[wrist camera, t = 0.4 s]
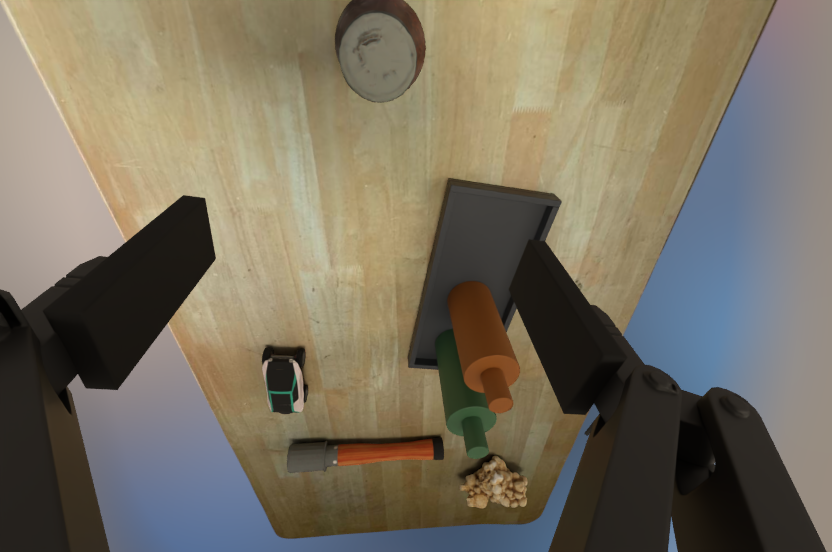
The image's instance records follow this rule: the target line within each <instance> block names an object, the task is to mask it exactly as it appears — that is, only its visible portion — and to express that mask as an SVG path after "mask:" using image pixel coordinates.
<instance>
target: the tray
mask: <svg viewBox="0 0 832 552" xmlns="http://www.w3.org/2000/svg"><path fill="white" fill-rule="evenodd" d="M561 202H562V201H561V200H560V199H559V198H558V197H557V196H556V195H555V194H549V193H542V192H536V191H529V190H522V189H516V188H509V187H503V186H496V185H489V184H483V183H476V182H470V181H463V180H457V179H450V178H449V179H448V183H447V188H446V192H445V197H444V201H443V205H442V210H441V214H440V218H439V223H438V227H437V232H436V236H435V240H434V245H433V249H432V254H431V258H430V262H429V267H428V271H427V276H426V280H425V284H424V289H423V293H422V298H421V302H420V306H419V311H418V315H417V320H416V324H415V328H414V333H413V337H412V341H411V346H410V350H409V355H408V367H409V368H422V369H436V370H438V363H437V356H436V349H435V341H436V339H437V337H438V336H439V335H440V334H441V333H443V332H444V331H446V330H449V329H453V326H452V322H451V317H450V312H449V308H448V302H447V299H448V295H449V293H450V292H451V290H452V289H453V288H454V287H455V286H457V285H459V284H461V283H463V282H467V281H477V282H480V283H483V284H484V285H486V286H487V287H488V288H489V290H490V292H491V295H492V297H493V300H494V302H495V305H496V308H497V310H498V313H499V315H500V318H501V320H502V323H503V326H504V328H505V331H506V332H507V330H508V327H509V325H510V322H511V320H512V318H513V315H514V313H515V311H516V308H517V307H516V305H515V303H514V300H513V298H512V296H511V294H510V291H509V287H510V285H511V282H512V280H513V277H514V275H515V272H516V270H517V267H518V265H519V262H520V260H521V257H522V255H523V252H524V250H525V247H526V245H527V242H528V240H529V239H531V240H539V241H545V240H546V237H547V235H548V233H549V230H550V228H551V226H552V223H553V221H554V219H555V216H556V214H557V211H558V209H559V207H560V205H561Z"/></svg>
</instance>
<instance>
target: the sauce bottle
mask: <svg viewBox="0 0 832 552" xmlns="http://www.w3.org/2000/svg"><path fill="white" fill-rule="evenodd" d="M335 49H336V54H337V58H338V61H339V64H340V66H341V71H342V73H343V76H344V78H345V80H346V82H347V84H348V85H349V86H350V87H351V88H352V90H353V91H355V92H356V93H357V94H358V95H359V96H361V97H362V98H364V99H367V100H369V101H372V102H378V103H379V102H388V101H391V100H394V99H396V98H398V97H399V96H401V95H402V94H403V93H404V92H405V91H406V90H407V89H409V88H410V86H411V85H412V84H413V83H414V81H415V80H416V78H417V77H418V75H419V73H420V71H421V69H422V66H423V63H424V58H425V50H426V46H425V38H424V32H423V28H422V26H421V23H420V21H419V19H418V17H417V15H416V13H415V12H414V10H413V9H412V8H411V7H410V6H409V5H408V4H407V3H406V2H405V1H404V0H352V1H351V2H350V3H349V4H348V5H347V6H346V8H345V9H344V11H343V12H342V14H341V16H340V18H339V21H338V24H337V28H336V33H335Z"/></svg>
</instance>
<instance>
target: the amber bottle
mask: <svg viewBox="0 0 832 552" xmlns="http://www.w3.org/2000/svg"><path fill="white" fill-rule="evenodd" d="M447 302H448V308H449V312H450V317H451V322H452V326H453V331H454V336H455V340H456V345H457V350H458V354H459V359H460V364H461V368H462V373H463V378H464V382H465V384H466V385H467V386H468V387H469V388H470V389H472V390H474V391H477V392H481V393H485V396H486V400H487V404H488V407H489V410H490V411H492V412H494V413H503V412H506V411H508V410H510V409H511V408H512V407H513V400H512V397H511V394H510V391H509V388H508V387H509V386H510V385H512V384H513V383H514V382H515V381H516V380H517V378H518V376H519V373H520V367H519V364H518V362H517V359H516V356H515V354H514V351H513V349H512V346H511V344H510V341H509V338H508V336H507V333H506V331H505V328H504V326H503V323H502V320H501V318H500V315H499V313H498V310H497V308H496V305H495V302H494V300H493V297H492V295H491V292H490V290H489V288H488V287H487V286H486V285H484V284H483V283H480V282H477V281H467V282H463V283H461V284H459V285H457V286H455V287H454V288H453V289H452V290H451V292H450V293H449V295H448V299H447Z"/></svg>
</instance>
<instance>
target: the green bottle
mask: <svg viewBox="0 0 832 552" xmlns="http://www.w3.org/2000/svg"><path fill="white" fill-rule="evenodd" d="M435 349H436V356H437V363H438V370H439V377H440V384H441V391H442V397H443V404H444V411H445V418H446V425H447V428H448V430H449V431H450V432H452V433H453V434H456V435H459V436H464V441H465V446H466V452H467V455H468V457H470V458H473V459H479V458H483V457H485V456H486V455H487V454H488V453H489V449H488V445H487V441H486V437H485V432H487V431H488V430H490V429H491V428H492V427H493V426H494V425H495V423H496V414H495V413H494V412H492V411H490V410H489V407H488V404H487V400H486V396H485V393H481V392H477V391H474V390H472V389H470V388H469V387H468V386H467V385H466V384H465V382H464V378H463V373H462V368H461V364H460V359H459V354H458V350H457V345H456V340H455V336H454V331H453V329H449V330H446V331H444V332H443V333H441V334H440V335H439V336H438V337H437V339H436V341H435Z"/></svg>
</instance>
